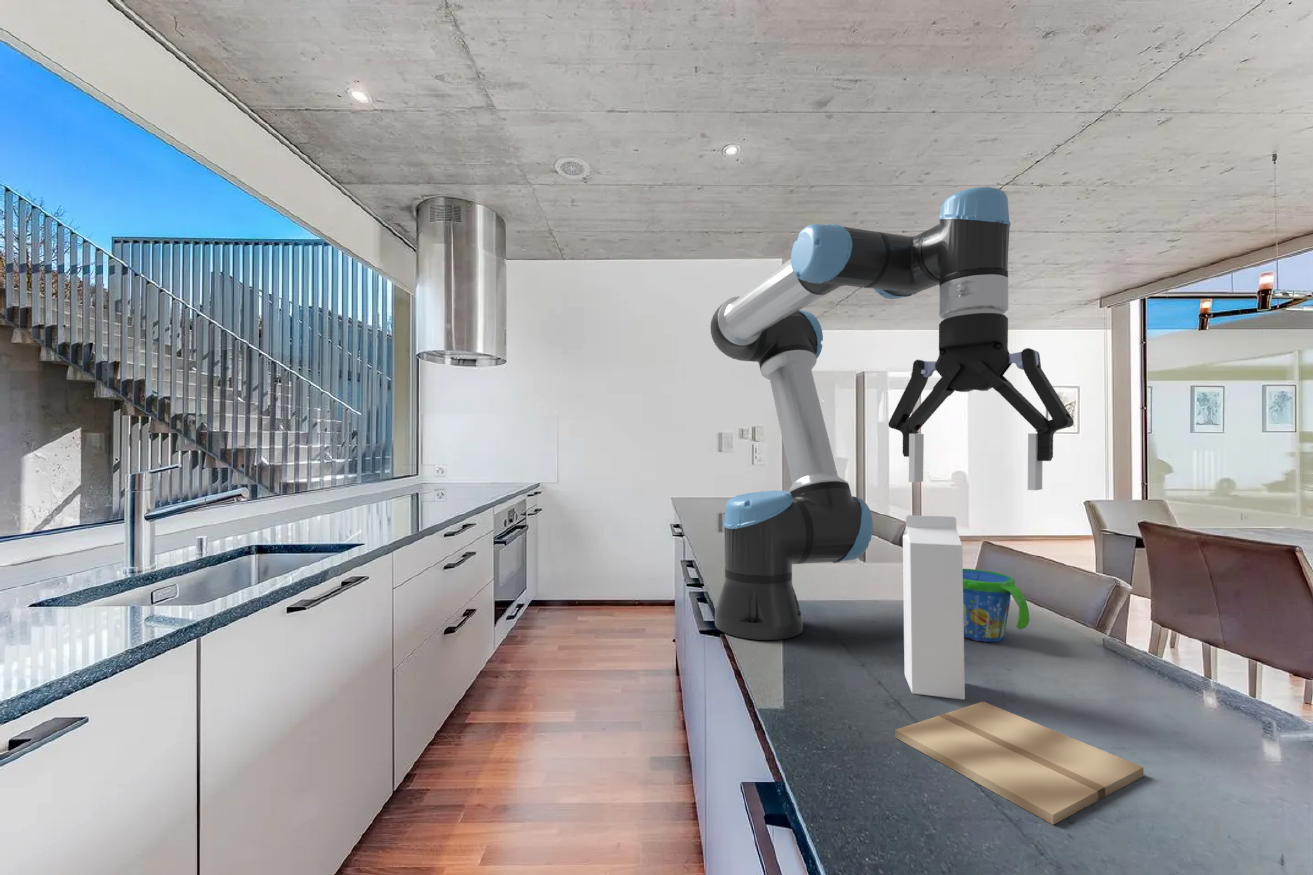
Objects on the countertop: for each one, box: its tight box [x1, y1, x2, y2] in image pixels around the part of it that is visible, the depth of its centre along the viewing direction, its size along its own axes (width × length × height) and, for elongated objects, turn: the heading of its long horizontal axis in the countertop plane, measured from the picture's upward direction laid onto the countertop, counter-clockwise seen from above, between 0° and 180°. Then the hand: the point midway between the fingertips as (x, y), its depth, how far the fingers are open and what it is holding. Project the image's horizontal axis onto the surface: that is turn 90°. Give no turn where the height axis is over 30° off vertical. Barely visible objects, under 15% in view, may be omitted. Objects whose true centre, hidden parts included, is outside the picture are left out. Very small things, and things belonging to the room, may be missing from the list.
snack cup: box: [963, 568, 1030, 643], centre depth 89 cm, size 16×10×10 cm
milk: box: [902, 514, 966, 701], centre depth 69 cm, size 6×6×22 cm
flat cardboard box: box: [894, 701, 1144, 826], centre depth 53 cm, size 15×15×1 cm
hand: (970, 485), depth 67 cm, fingers open, 13 cm apart
